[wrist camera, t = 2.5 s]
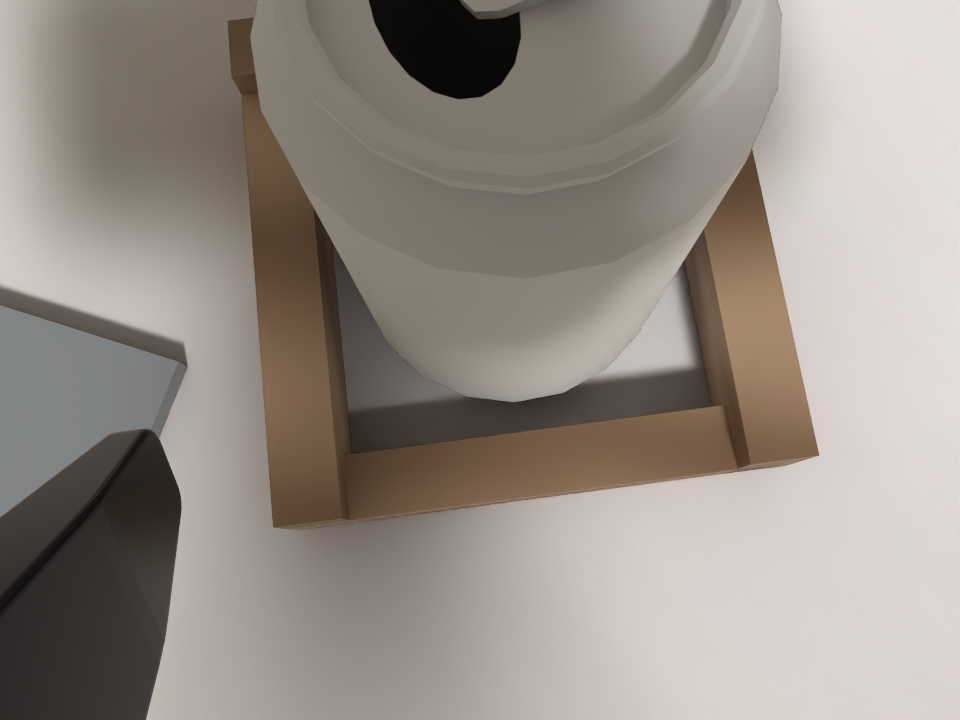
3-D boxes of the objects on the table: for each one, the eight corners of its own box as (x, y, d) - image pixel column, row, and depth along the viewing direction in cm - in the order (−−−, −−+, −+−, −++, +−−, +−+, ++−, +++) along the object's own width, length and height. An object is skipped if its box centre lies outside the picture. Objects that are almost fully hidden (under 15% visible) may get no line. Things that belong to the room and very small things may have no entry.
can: (327, 187, 23) (141, -206, 11) (590, 97, 23) (682, -375, 11) (418, 450, 21) (315, 322, 9) (699, 348, 21) (939, 102, 10)
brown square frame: (786, 465, 21) (832, 450, 18) (297, 530, 21) (263, 526, 18) (695, 31, 23) (723, -43, 20) (262, 87, 23) (227, 21, 20)
